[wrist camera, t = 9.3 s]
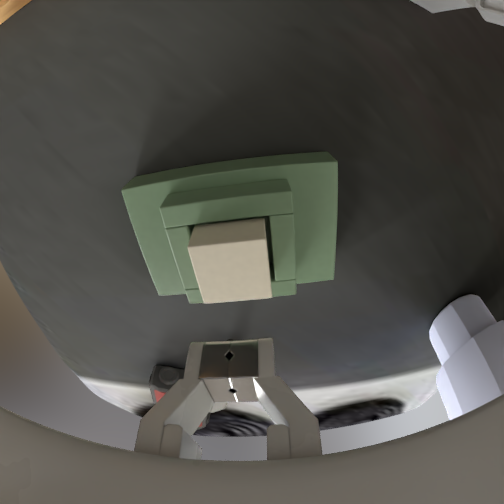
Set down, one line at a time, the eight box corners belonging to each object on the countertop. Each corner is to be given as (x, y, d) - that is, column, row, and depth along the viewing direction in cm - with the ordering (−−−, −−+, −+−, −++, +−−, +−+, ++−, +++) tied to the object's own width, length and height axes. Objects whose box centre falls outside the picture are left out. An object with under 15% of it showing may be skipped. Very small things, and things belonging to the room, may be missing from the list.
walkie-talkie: (221, 416, 35) (244, 331, 24) (220, 443, 32) (244, 373, 21) (160, 407, 34) (145, 316, 23) (155, 434, 31) (132, 356, 20)
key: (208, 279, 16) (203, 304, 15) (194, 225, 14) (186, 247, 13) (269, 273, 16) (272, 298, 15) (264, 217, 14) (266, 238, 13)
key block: (165, 276, 21) (152, 314, 18) (133, 176, 16) (107, 203, 13) (326, 260, 20) (340, 298, 17) (327, 151, 16) (349, 172, 12)
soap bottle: (464, 268, 21) (570, 489, 1) (498, 295, 24) (577, 457, 3) (399, 340, 26) (457, 547, 6) (444, 351, 29) (497, 509, 9)
